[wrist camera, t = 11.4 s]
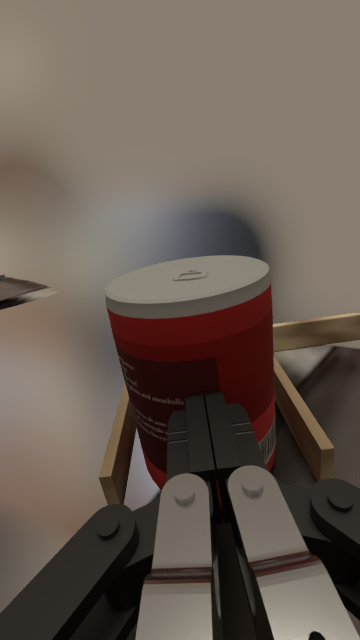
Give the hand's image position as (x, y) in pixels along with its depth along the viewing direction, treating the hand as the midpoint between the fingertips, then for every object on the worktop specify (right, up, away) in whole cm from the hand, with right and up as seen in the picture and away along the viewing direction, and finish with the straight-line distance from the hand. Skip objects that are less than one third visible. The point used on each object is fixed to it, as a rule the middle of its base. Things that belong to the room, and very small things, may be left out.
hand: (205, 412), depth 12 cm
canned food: (+1, -4, +6) cm, 8 cm away
